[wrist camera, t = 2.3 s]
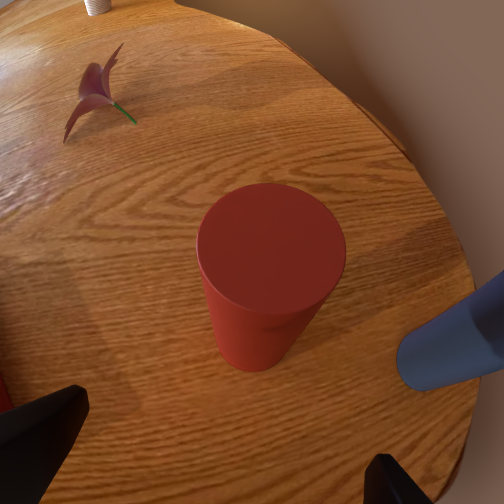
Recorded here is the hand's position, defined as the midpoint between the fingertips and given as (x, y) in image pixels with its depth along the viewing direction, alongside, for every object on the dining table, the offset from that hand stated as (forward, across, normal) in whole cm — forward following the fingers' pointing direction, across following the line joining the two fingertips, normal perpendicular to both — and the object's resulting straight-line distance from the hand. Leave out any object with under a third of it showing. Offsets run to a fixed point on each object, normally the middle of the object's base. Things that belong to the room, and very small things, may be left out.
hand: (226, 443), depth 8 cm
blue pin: (+14, -13, +4) cm, 20 cm away
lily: (+27, +22, -9) cm, 36 cm away
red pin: (+13, 0, +4) cm, 14 cm away
